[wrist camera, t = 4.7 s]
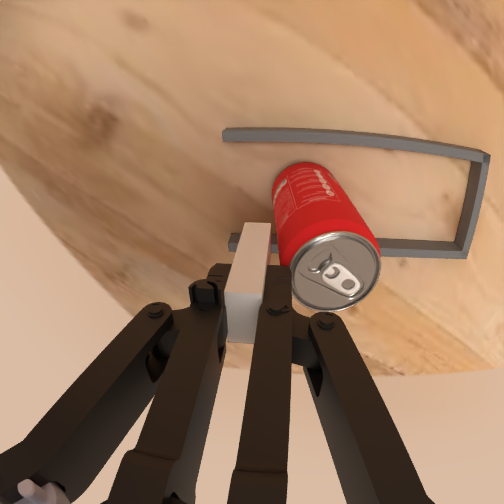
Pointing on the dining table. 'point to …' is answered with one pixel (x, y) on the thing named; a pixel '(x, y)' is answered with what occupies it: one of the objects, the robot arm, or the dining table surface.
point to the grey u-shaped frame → (477, 157)
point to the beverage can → (323, 240)
